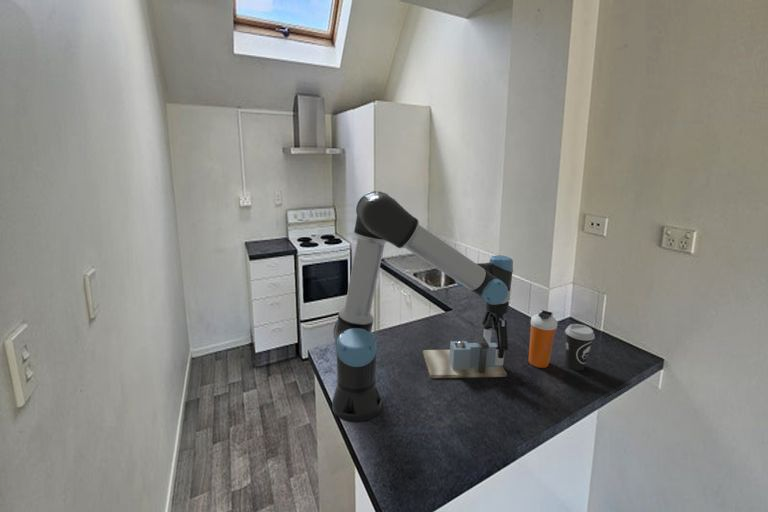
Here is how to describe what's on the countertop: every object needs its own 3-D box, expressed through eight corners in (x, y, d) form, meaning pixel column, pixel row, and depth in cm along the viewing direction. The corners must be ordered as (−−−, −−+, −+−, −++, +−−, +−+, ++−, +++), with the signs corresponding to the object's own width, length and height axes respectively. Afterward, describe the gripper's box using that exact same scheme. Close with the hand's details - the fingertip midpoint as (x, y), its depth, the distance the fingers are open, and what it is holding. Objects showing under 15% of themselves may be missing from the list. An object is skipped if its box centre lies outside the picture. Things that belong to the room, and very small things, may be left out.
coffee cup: (582, 359, 142) (588, 323, 138) (593, 373, 133) (600, 335, 129) (556, 358, 143) (562, 322, 139) (565, 372, 134) (571, 334, 130)
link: (452, 369, 132) (454, 349, 130) (449, 360, 138) (450, 341, 136) (499, 368, 133) (501, 348, 131) (494, 359, 139) (496, 340, 137)
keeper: (477, 376, 131) (480, 346, 127) (472, 364, 137) (474, 336, 134) (486, 376, 131) (489, 345, 127) (480, 364, 138) (482, 336, 134)
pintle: (456, 369, 134) (458, 343, 132) (455, 366, 136) (457, 340, 134) (462, 369, 135) (464, 343, 132) (460, 366, 136) (462, 340, 134)
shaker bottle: (524, 365, 138) (530, 315, 132) (527, 354, 145) (533, 306, 140) (550, 371, 134) (557, 320, 128) (552, 360, 141) (559, 311, 136)
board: (430, 378, 129) (430, 375, 129) (423, 352, 145) (423, 350, 145) (506, 376, 130) (506, 373, 130) (490, 351, 147) (491, 349, 146)
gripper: (476, 287, 141) (472, 338, 146) (499, 315, 117) (493, 374, 122) (496, 287, 141) (491, 337, 147) (523, 314, 117) (515, 374, 123)
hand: (492, 354), depth 135 cm, fingers open, 13 cm apart
